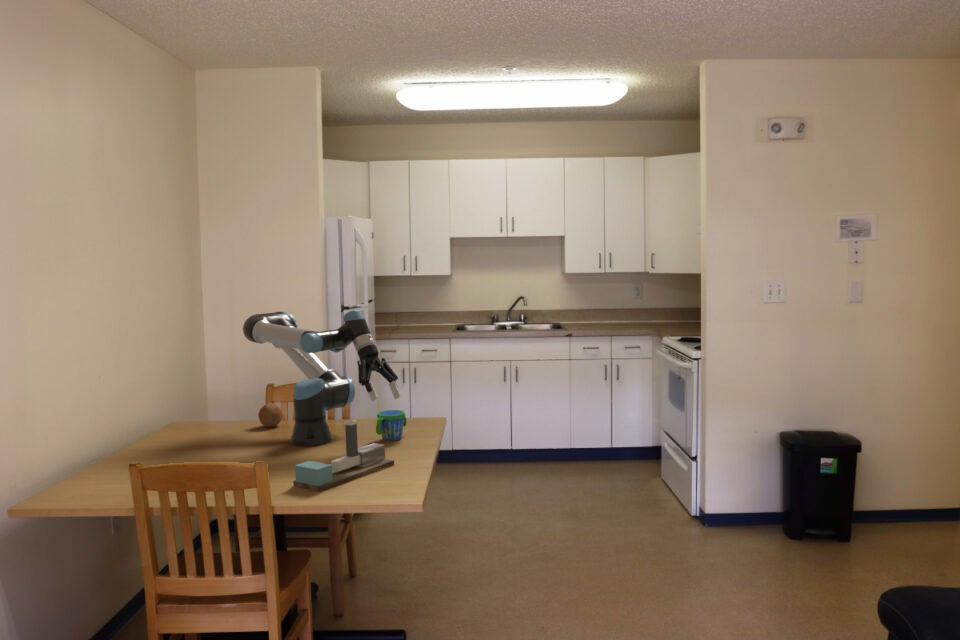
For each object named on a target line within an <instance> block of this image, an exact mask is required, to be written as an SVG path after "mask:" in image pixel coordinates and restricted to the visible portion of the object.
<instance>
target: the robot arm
mask: <svg viewBox="0 0 960 640" xmlns="http://www.w3.org/2000/svg"><path fill="white" fill-rule="evenodd" d="M342 318H343V322H344V323H343V324H342V325H341V326H339V327H338V328H336V329H330V330H321V331H315V330H314V331H313V330H309V329H303V328H299V327H298V324H297V320H296V317H294V315H292V314H291V313H290V312H287V311H275V312H267V313H256V314H252V315H251V316H249V317H247V318H246V320H244V323H243V326H242V332H243V336H244V337H245V338H246V339H247V340H248V341H249V342H251V343H255V344H260V345H261V344H265V343H270V344H272V345H273V346H274V348H275V349H281V350H282V351H283V352H284V353H285V355H286V356H288V357H289V359H290V360H291V361H292V363H294V364H295V366H297V368H298V369H299V370H300V372H302V373H303V375H305V377H306V378H307V379H303V380H301V381H299V382H297V383H295V384H294V386H293V394H292V395H293V406H294V426H293V431H292V435H291V436H290V441H291V442H290V443H291V444H292V445H293V446H300V447H301V446H302V447H311V446H320V445H323V444H327V443H329V442H331V441H332V440H333V439H332V432H331V431H330V427H329V424H328V421H327V415H326V414H327V413H326V411H330V410H334V409H340V408H344V407H346V406H349V405H351V404H352V402H354V399H355V396H356V386H355V383H354V381H353V380H352V378H351V377H349V376H346V375H345V376H344V375H343V376H341V375H340V374H339V373H338V372H337V370H335V369H330V368H328V366H327V365H326V364H325V363H324V362H323V361H322V360H321V359H320V358H319V356H317V353H320V352H321V353H322V352H324V351H325V352H326V351H331V352H334V353H340V352H342V351H344V350H345V349H346V348H347V347H348V346H350V345H351V344H353V347H354V348H355V351H356V352H357V356H358V358H359V359H358V360H357V361H356V363H357V366H358V383H359V384H361V386H362V387H363V386H364V387H365V390H366V391H367V393H368V395H369V398H370V401H371V402H374V401H375V400H377V399H378V398H379V396H378V395H377V394H378V393H377V392H376V389H375V386H374V385H373V382H372V381H371V377H372V372H376V373H379V374H380V375H381V376H382V377H383V378H384V379H385V380H386V381H387V382H388V386H389V389H390V391H391V393H392V395H393V399H394V400H397V399H398V398H400V397H402V394H401V392H400V390H399V387H398V384H397V382H396V381H397V380H398V379H399V377H398V376H397V374H396V373H395V372H394V370H393V369H392V367H390V365H389V364H388V362H387V361H386V358H385V357H382V358H379V350H378V348H377V344H376V342H375V341H374V338H373V335H372V334H371V331H370V329H369V326H368V323H367V320H366V318H365V316H364V314H363V312H362V311H361V310H360V309H353V310H349V311H347V312H346V313H345V314H344V315H343V317H342Z"/></svg>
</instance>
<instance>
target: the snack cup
mask: <svg viewBox="0 0 960 640" xmlns="http://www.w3.org/2000/svg"><path fill="white" fill-rule="evenodd" d="M376 416H377V417H376V418H377V421H376V428H375V432H376V434H377V435H381V438H382V440H384V441H388V440H393V441H397V440H398V439H399V440H400V439H402V438H403V432H404V427H406V426H407V424H408V423H407V418H406V417H407V416H406V413H405V411H404V410H399V409H398V410H397V409H389V410H382V411H379V412H378V413H377V414H376ZM399 440H398V441H399Z"/></svg>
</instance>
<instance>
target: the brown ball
mask: <svg viewBox="0 0 960 640" xmlns="http://www.w3.org/2000/svg"><path fill="white" fill-rule="evenodd" d="M283 415H284V414H283V410H282V408H281V407H280V405H277V403H275V402H270V403H266V404H264V405H263V406H261V408H259V411H258V419H259V422H260V424H261V425H263V426H264V427H265V428H273V427H277V426H278V425H279V424H280V423H281V422H282V420H283Z"/></svg>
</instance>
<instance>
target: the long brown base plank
mask: <svg viewBox="0 0 960 640" xmlns="http://www.w3.org/2000/svg"><path fill="white" fill-rule="evenodd" d="M358 454H361V464H359V465H356V466H353V467H350V468H347V469H344V470H341V471H339V472H338V471H333V470H332V477H333V481H332V482H329V483H326V484H323V485H320V486H315V485H310V484H305V483H300V482H296V480H293V482H292V483H293V487H299V488H302V489H307V490H312V491H316V492H324V491H326V490H329V489H331V488H335V487H337V486H340V485H343V484H345V483H348V482H351V481H354V480H357V479H359V478H362V477H364V475H365V476H367V474H368V475H370V474H373V473H375V471H376V472H378V471H377V470H379V471H381V470H383V468H384V469H387V468H389V467H391V465H392V466H394V465H395V459H388V458H386V446H385V444H382V443H375V442H373V443H371V444H368V445H364V446H361V447H358ZM388 466H389V467H388ZM386 467H387V468H386ZM380 469H381V470H380ZM372 472H373V473H372ZM369 473H370V474H369ZM361 476H362V477H361ZM358 477H359V478H358ZM356 478H357V479H356ZM353 479H354V480H353ZM350 480H351V481H350Z"/></svg>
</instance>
